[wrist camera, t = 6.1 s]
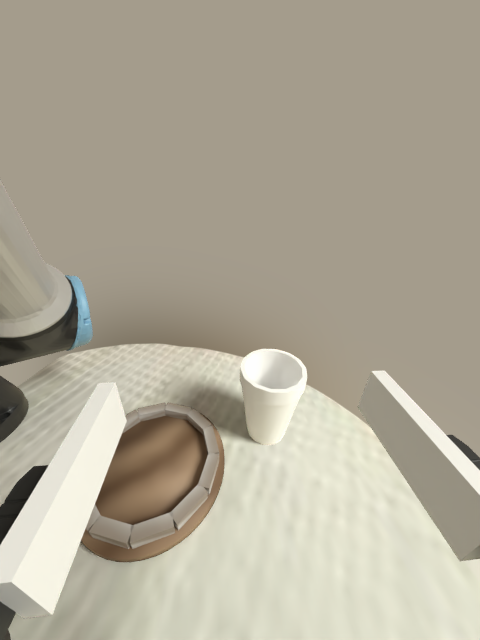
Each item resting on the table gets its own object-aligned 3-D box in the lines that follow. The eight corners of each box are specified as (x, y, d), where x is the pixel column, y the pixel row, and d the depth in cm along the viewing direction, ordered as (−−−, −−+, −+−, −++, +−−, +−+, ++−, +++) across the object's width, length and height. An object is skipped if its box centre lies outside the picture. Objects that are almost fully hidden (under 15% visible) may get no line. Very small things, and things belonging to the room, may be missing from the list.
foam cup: (243, 401, 45) (247, 345, 38) (293, 410, 43) (305, 353, 37) (232, 448, 36) (234, 386, 30) (293, 461, 35) (308, 398, 29)
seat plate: (51, 469, 33) (44, 459, 32) (173, 391, 46) (171, 382, 45) (114, 625, 21) (107, 617, 20) (252, 461, 35) (253, 451, 33)
